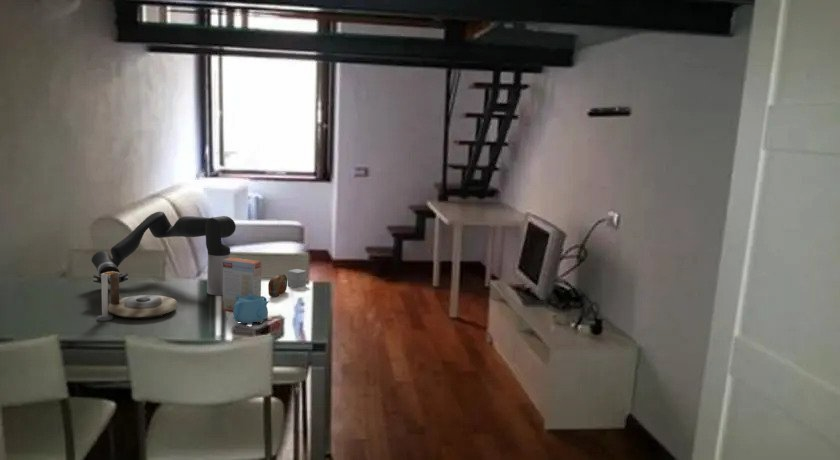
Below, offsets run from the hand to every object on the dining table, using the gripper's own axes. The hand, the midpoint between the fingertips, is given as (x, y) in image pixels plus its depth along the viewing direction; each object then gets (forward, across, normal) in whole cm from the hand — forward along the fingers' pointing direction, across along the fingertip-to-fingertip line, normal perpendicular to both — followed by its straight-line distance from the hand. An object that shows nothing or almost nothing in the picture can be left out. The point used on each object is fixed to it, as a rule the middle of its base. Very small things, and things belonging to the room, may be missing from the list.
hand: (113, 283), depth 244 cm
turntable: (+7, -9, -8) cm, 15 cm away
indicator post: (+12, +4, -10) cm, 16 cm away
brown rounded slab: (0, -65, -11) cm, 66 cm away
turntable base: (+8, -9, -10) cm, 16 cm away
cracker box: (+19, -44, -10) cm, 49 cm away
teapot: (+34, -43, -10) cm, 56 cm away
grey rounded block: (-11, -78, -11) cm, 79 cm away
